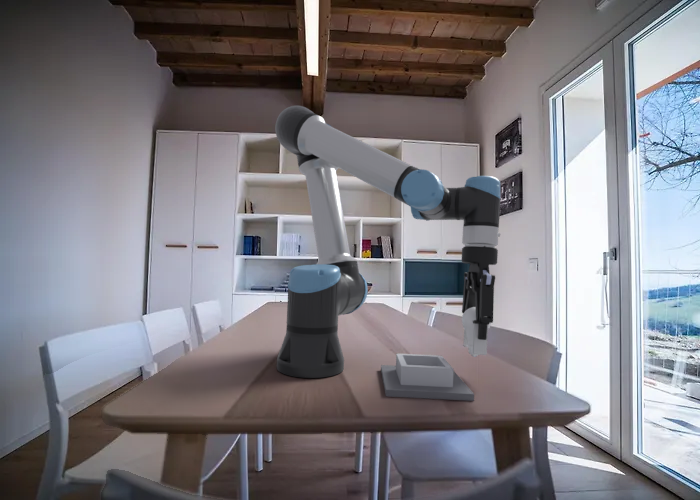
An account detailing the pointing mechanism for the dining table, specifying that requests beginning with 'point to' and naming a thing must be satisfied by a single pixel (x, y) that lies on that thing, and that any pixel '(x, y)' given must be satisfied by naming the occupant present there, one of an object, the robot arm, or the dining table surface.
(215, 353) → the dining table surface
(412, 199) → the robot arm
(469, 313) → the lightbulb
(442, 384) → the lamp socket
